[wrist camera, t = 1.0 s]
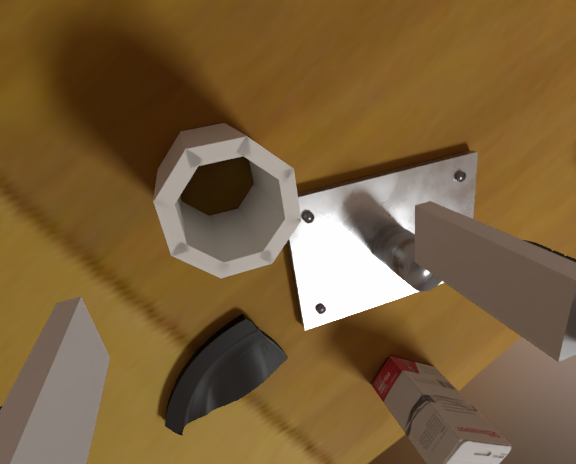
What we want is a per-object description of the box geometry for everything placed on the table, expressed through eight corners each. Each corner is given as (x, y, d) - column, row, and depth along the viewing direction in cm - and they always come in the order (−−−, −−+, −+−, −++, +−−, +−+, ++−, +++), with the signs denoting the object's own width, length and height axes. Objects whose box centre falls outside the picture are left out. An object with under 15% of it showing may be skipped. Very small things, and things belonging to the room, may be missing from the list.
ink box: (368, 385, 43) (432, 479, 33) (389, 353, 42) (461, 440, 32) (417, 395, 47) (488, 483, 36) (436, 366, 46) (516, 447, 35)
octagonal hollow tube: (178, 235, 29) (182, 290, 21) (147, 137, 26) (138, 158, 18) (271, 211, 31) (306, 253, 23) (253, 116, 28) (288, 127, 20)
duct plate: (301, 324, 36) (328, 372, 30) (279, 198, 31) (307, 225, 24) (462, 270, 41) (515, 302, 35) (470, 150, 35) (534, 163, 29)
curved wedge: (131, 394, 34) (129, 407, 32) (242, 306, 34) (245, 315, 33) (189, 432, 38) (190, 445, 36) (288, 352, 38) (293, 363, 36)
